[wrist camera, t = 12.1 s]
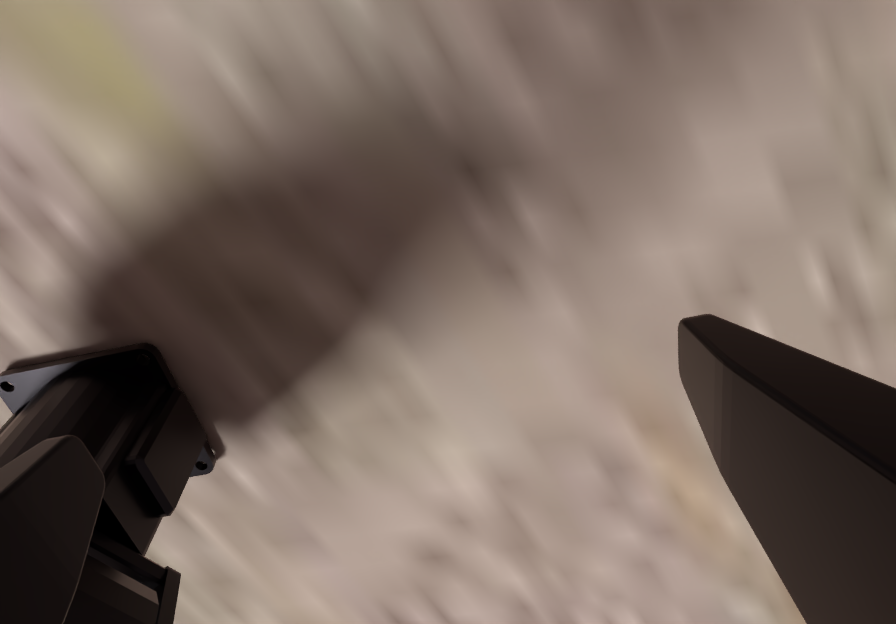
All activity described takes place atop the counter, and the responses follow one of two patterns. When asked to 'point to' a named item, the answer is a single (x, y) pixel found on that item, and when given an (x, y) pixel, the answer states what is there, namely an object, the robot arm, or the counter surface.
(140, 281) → the counter surface
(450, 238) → the counter surface
